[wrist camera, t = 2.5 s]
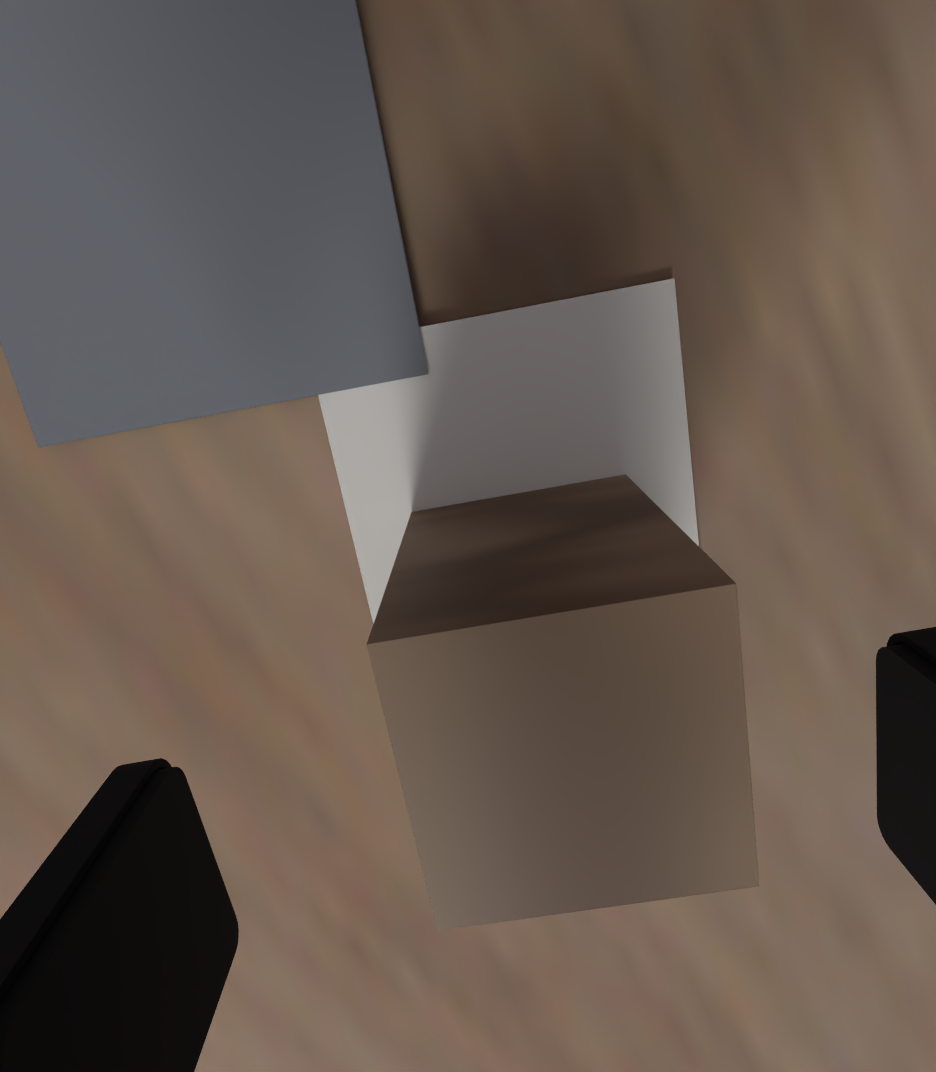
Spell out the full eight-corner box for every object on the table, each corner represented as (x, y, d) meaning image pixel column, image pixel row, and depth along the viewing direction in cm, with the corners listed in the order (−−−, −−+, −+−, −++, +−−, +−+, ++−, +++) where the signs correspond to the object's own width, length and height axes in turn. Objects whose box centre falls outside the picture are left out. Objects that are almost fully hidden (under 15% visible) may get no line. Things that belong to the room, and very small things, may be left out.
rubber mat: (333, -114, 13) (330, -126, 13) (428, 373, 15) (428, 374, 15) (-118, -10, 13) (-131, -17, 13) (46, 445, 16) (38, 447, 16)
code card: (671, 278, 15) (675, 277, 15) (718, 788, 19) (721, 794, 18) (309, 348, 15) (306, 348, 15) (425, 831, 19) (424, 837, 19)
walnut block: (625, 474, 16) (736, 583, 9) (649, 668, 17) (759, 886, 11) (411, 511, 16) (366, 644, 9) (451, 700, 18) (437, 930, 11)
